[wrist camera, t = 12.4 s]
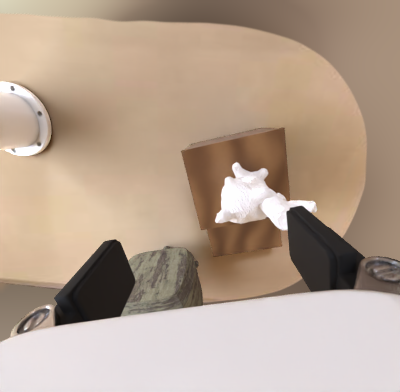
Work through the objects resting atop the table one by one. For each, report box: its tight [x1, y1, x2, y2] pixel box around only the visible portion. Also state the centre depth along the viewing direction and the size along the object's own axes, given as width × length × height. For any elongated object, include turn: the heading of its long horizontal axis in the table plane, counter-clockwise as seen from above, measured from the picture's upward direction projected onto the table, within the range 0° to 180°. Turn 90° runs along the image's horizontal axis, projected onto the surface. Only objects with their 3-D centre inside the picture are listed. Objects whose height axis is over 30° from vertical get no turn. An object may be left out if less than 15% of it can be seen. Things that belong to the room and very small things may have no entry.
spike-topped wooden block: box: [120, 246, 203, 317], centre depth 33 cm, size 14×9×25 cm, turn 102°
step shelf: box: [181, 128, 290, 257], centre depth 34 cm, size 13×22×11 cm, turn 13°
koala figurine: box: [215, 162, 317, 231], centre depth 22 cm, size 8×7×12 cm
